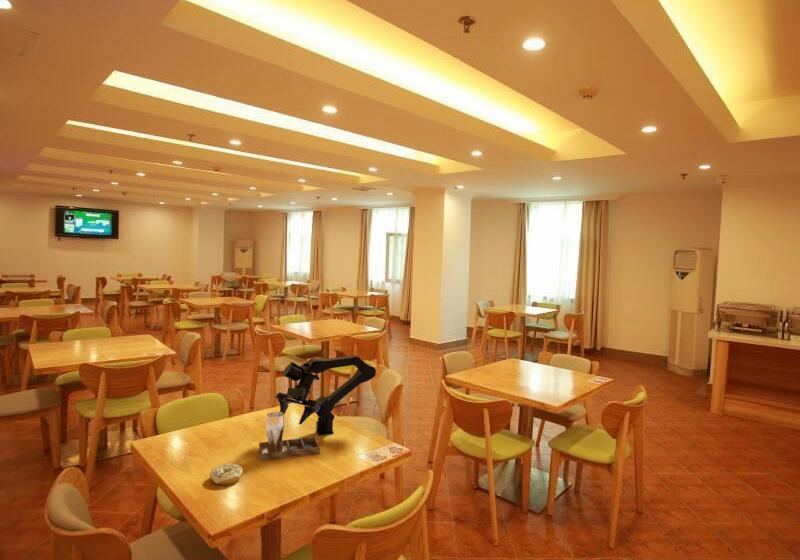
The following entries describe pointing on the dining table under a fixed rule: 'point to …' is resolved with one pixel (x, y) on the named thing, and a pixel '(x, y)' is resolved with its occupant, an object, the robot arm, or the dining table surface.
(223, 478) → the decorated donut
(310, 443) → the box
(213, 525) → the dining table surface
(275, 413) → the metal cup
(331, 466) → the dining table surface
